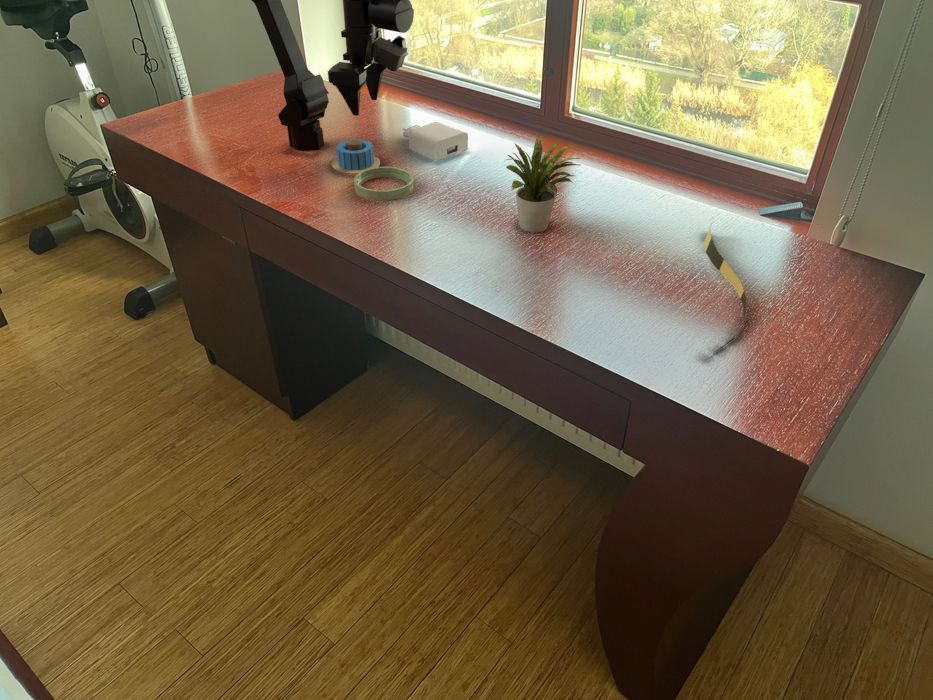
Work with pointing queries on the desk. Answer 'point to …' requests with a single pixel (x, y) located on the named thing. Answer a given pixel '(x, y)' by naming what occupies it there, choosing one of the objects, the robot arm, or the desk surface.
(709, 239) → the tape
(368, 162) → the blue gear
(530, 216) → the house plant
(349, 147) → the tape holder
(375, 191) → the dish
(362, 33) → the robot arm
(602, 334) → the desk surface
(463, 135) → the charger
